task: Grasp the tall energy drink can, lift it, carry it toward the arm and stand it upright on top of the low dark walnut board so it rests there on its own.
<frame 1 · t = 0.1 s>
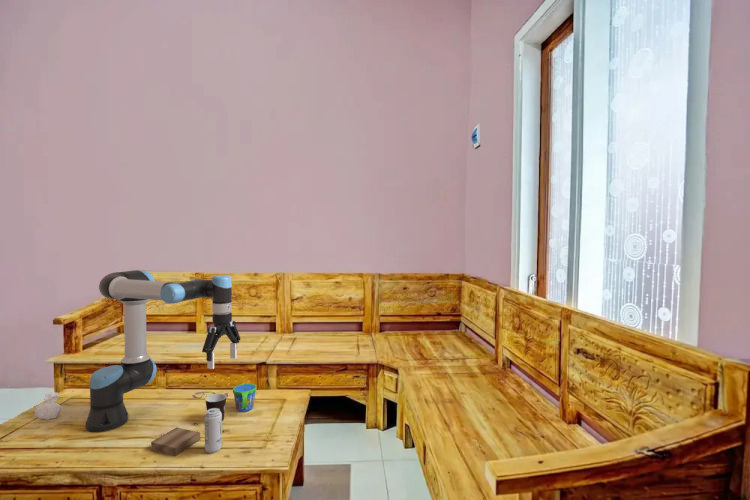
hand: (222, 363, 162), 28 cm above the table, fingers open, 13 cm apart
energy drink can: (213, 450, 148), on the table
tied plastic bag: (49, 417, 173), on the table
snack cup: (244, 409, 182), on the table
coffee mug: (218, 418, 172), on the table
walnut board: (176, 444, 151), on the table
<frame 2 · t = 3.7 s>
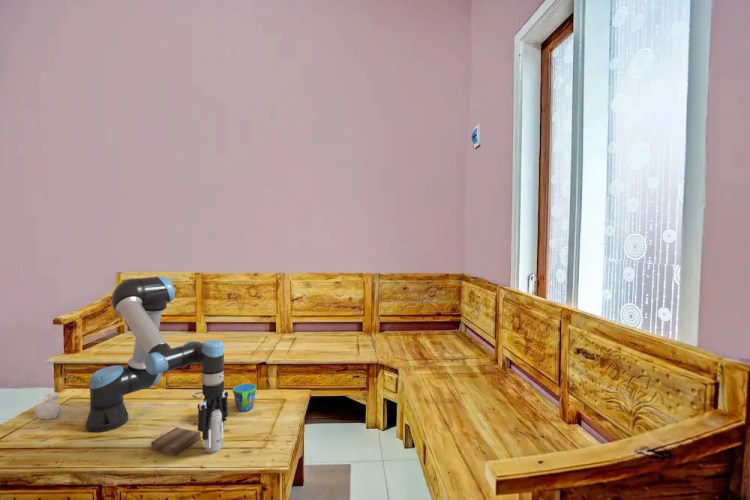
hand: (213, 442, 147), 3 cm above the table, fingers closed on energy drink can, 6 cm apart
energy drink can: (213, 450, 148), on the table, touching gripper
everything else where it was.
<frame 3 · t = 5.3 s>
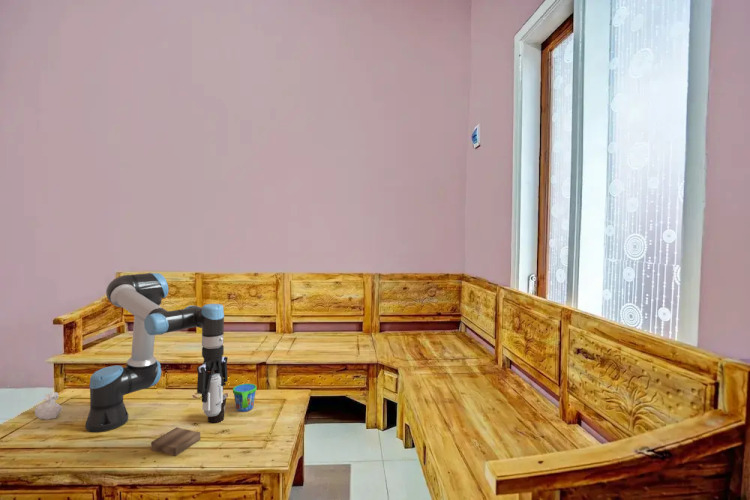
hand: (212, 405, 147), 17 cm above the table, fingers closed on energy drink can, 6 cm apart
energy drink can: (212, 414, 147), point 14 cm above the table, touching gripper
everything else where it was.
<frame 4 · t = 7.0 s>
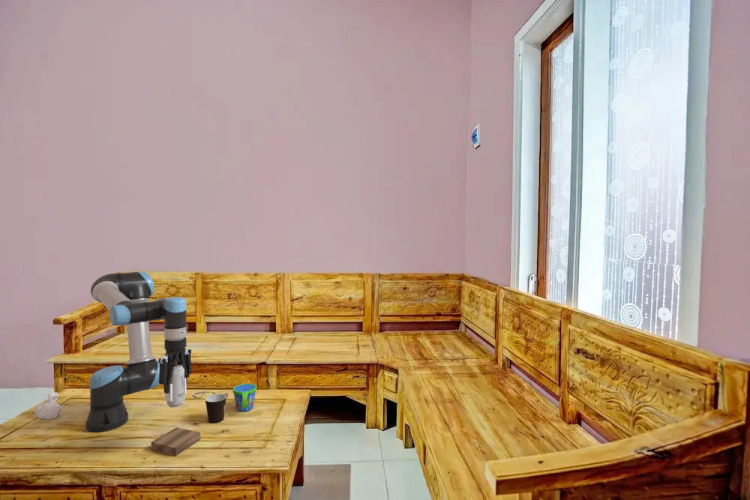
hand: (176, 397, 150), 19 cm above the table, fingers closed on energy drink can, 6 cm apart
energy drink can: (175, 405, 150), point 16 cm above the table, touching gripper
everything else where it was.
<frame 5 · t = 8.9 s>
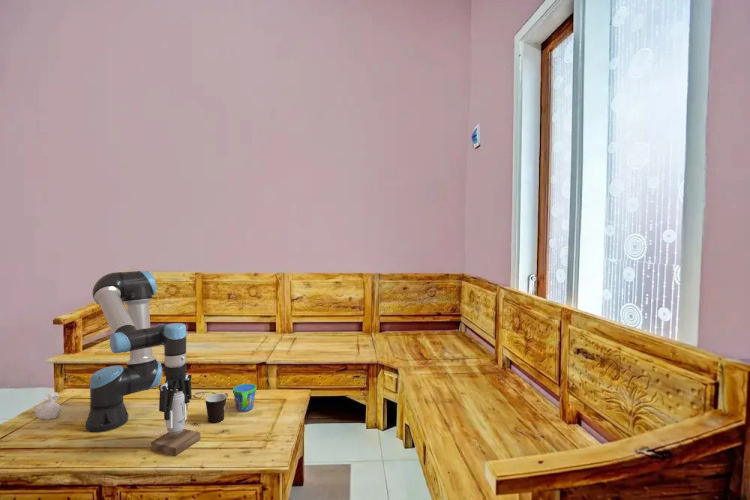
hand: (176, 423, 150), 8 cm above the table, fingers closed on energy drink can, 6 cm apart
energy drink can: (176, 431, 150), point 5 cm above the table, touching gripper
everything else where it was.
when the fingers open (6 cm above the table, at t = 10.5 s): energy drink can stays where it is, resting on walnut board.
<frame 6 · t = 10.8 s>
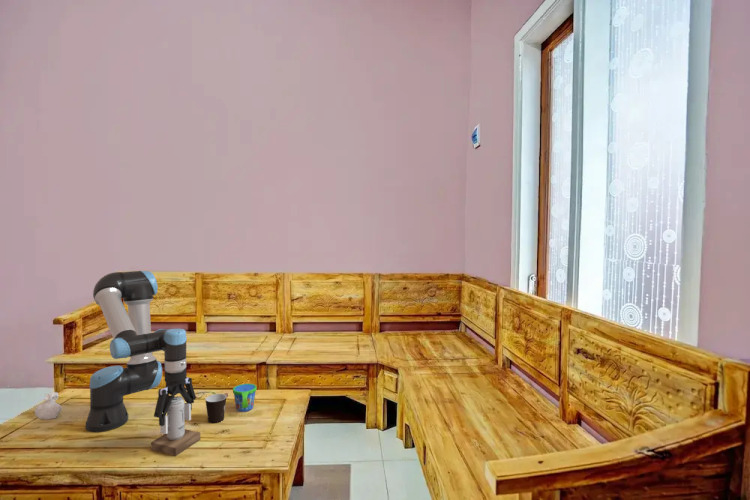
hand: (176, 426, 150), 7 cm above the table, fingers open, 10 cm apart
energy drink can: (176, 437, 151), point 3 cm above the table, touching walnut board
everything else where it was.
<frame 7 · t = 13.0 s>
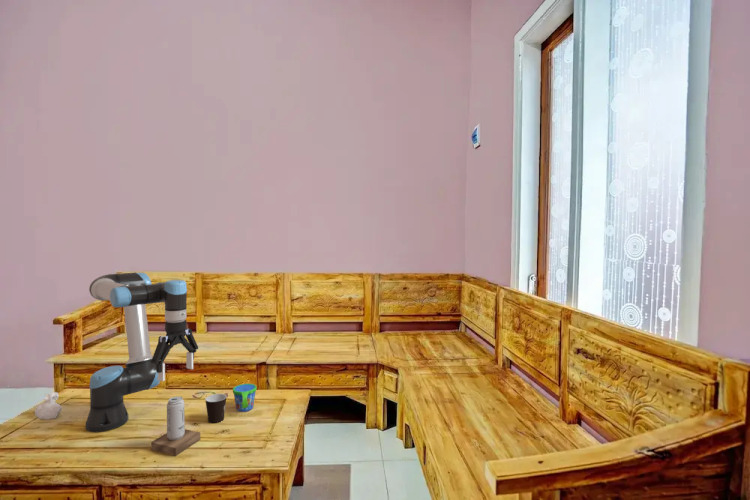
hand: (176, 374, 151), 27 cm above the table, fingers open, 13 cm apart
nothing on the table moved.
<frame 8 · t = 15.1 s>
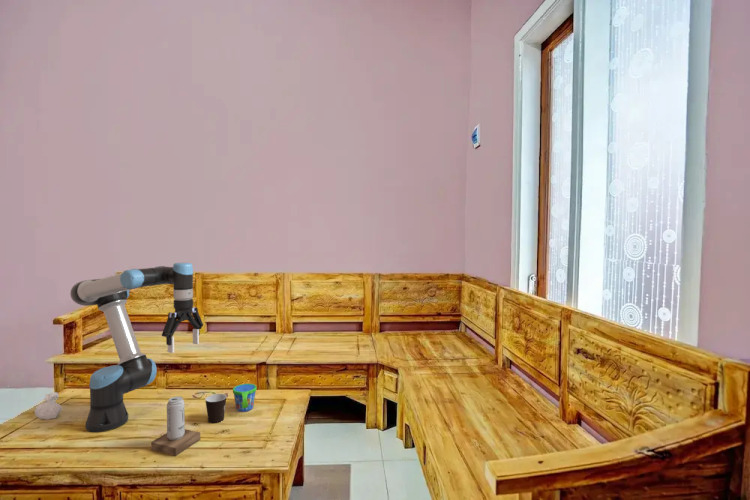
hand: (183, 347, 167), 33 cm above the table, fingers open, 13 cm apart
nothing on the table moved.
at the end: energy drink can inside the target area on the walnut board (0.2 cm from its centre), point 2.8 cm above the walnut board's base; energy drink can tilted 0°; the gripper is holding nothing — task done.
